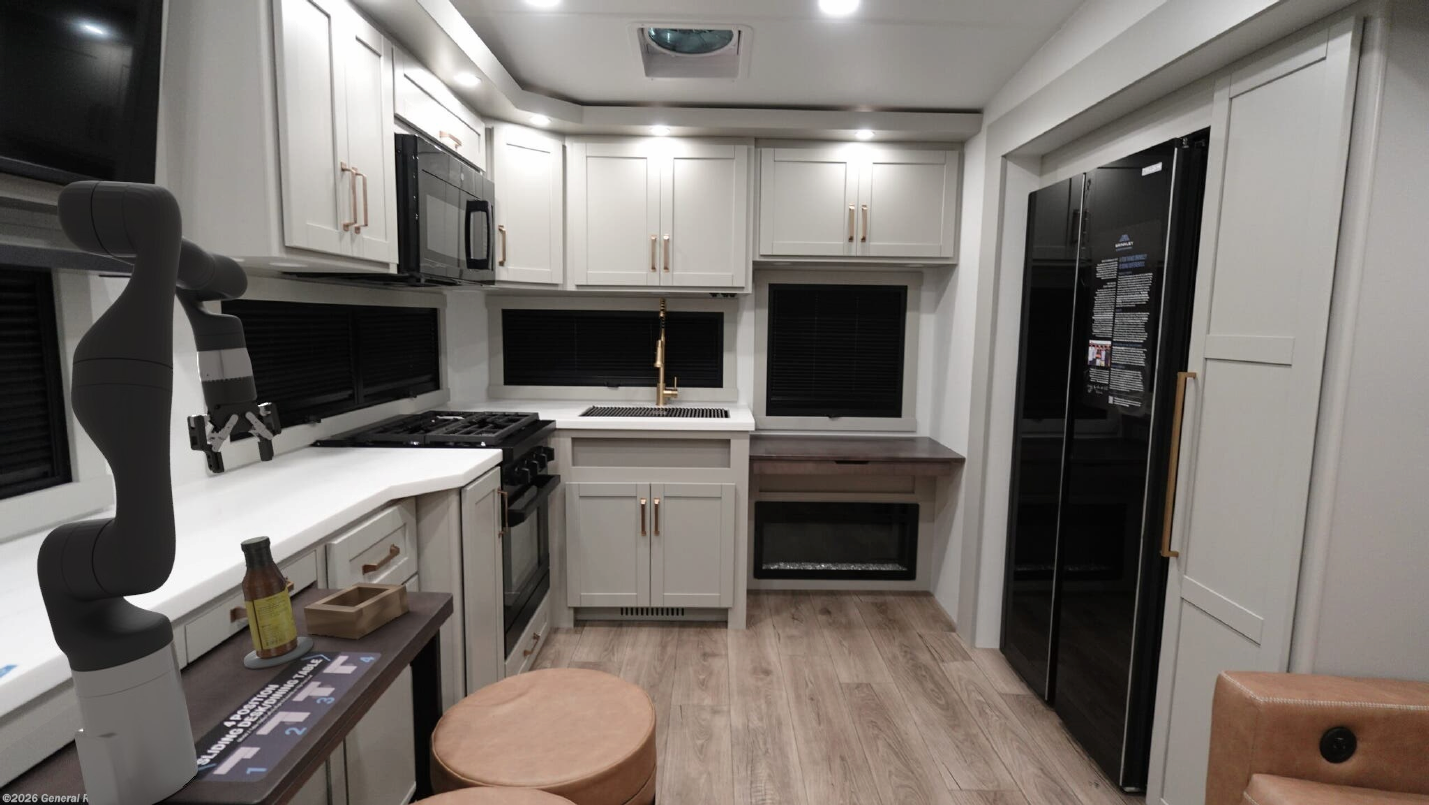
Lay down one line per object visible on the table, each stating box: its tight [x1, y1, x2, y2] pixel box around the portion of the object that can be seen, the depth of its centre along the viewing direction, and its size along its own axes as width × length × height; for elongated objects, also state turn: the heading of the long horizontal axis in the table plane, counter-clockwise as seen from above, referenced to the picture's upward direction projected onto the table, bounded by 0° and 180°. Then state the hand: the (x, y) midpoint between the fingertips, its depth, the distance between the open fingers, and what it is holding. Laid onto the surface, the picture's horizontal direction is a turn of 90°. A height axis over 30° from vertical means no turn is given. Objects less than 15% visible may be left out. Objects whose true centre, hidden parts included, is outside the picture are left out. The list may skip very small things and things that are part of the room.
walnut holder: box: [303, 582, 410, 640], centre depth 125 cm, size 12×12×5 cm
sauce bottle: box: [240, 535, 298, 658], centre depth 113 cm, size 7×6×20 cm
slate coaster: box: [243, 636, 314, 670], centre depth 115 cm, size 10×10×1 cm
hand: (243, 466), depth 119 cm, fingers open, 8 cm apart
